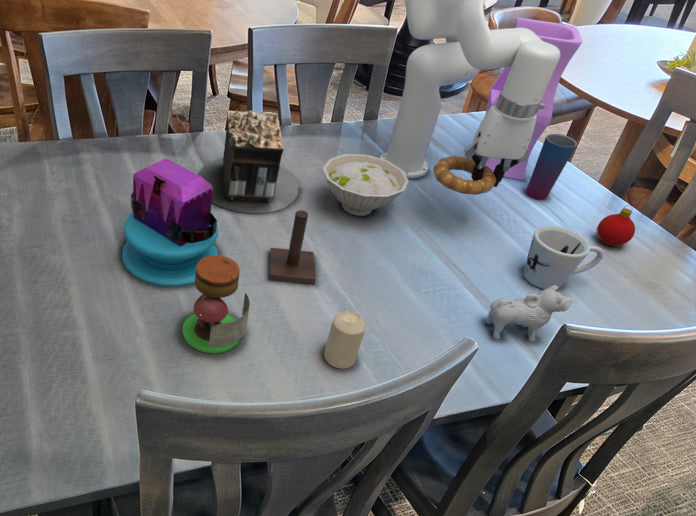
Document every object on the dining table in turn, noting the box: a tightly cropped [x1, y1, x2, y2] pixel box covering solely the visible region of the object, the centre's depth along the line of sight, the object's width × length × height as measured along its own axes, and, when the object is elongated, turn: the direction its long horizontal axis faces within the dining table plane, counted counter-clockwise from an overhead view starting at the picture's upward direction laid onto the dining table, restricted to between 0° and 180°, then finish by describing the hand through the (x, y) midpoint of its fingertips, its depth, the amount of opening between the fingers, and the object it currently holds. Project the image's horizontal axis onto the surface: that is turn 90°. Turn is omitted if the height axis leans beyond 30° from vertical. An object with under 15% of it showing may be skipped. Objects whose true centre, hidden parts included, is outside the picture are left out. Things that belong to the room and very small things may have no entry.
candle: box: [323, 309, 367, 370], centre depth 108 cm, size 6×6×10 cm
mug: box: [522, 225, 604, 290], centre depth 128 cm, size 10×15×10 cm
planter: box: [196, 109, 299, 214], centre depth 148 cm, size 25×25×19 cm
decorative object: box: [121, 157, 219, 287], centre depth 124 cm, size 20×20×20 cm
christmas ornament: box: [596, 204, 636, 247], centre depth 140 cm, size 7×7×10 cm
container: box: [468, 17, 583, 181], centre depth 158 cm, size 14×14×35 cm
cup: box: [525, 133, 578, 201], centre depth 153 cm, size 7×7×15 cm
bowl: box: [322, 153, 410, 216], centre depth 145 cm, size 19×19×10 cm
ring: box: [432, 155, 496, 196], centre depth 139 cm, size 13×13×3 cm
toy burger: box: [182, 254, 251, 354], centre depth 109 cm, size 12×13×15 cm
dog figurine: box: [485, 285, 573, 342], centre depth 115 cm, size 5×13×11 cm, turn 89°
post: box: [269, 209, 317, 285], centre depth 125 cm, size 9×9×14 cm
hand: (484, 182), depth 140 cm, fingers closed on ring, 3 cm apart
